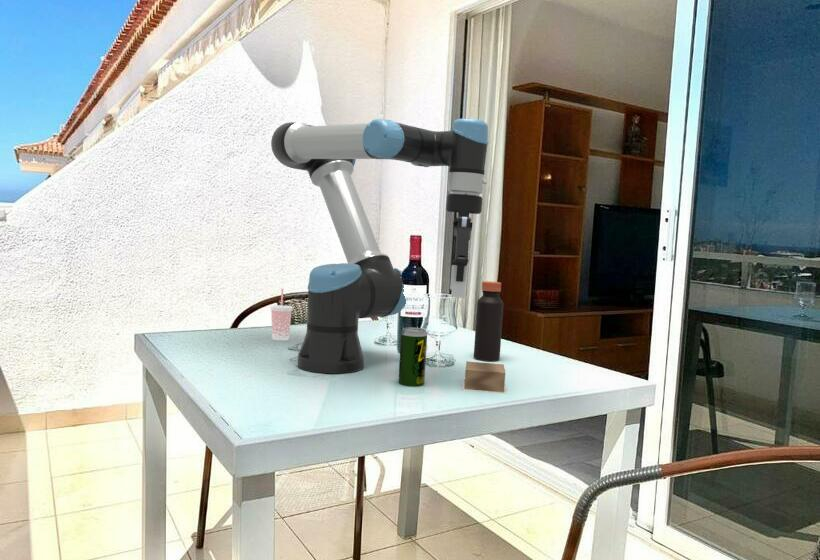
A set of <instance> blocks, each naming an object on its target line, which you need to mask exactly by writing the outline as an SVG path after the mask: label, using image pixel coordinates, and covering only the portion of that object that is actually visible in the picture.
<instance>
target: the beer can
mask: <svg viewBox="0 0 820 560" xmlns="http://www.w3.org/2000/svg"><path fill="white" fill-rule="evenodd" d="M427 344H428V334H427V329H425V328H423V327H415V326H414V327H413V326H412V327H411V326H410V327H403V328H402V331H401V334H400V344H399V345H400V346H399V347H400V348H399V363H398V366H399V367H398V380H397V381H398V385H400V386H403V387H410V388H415V387H416V388H417V387H423V386H424V384H425V376H426V362H427V361H426V359H427Z"/></svg>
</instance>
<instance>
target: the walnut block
mask: <svg viewBox="0 0 820 560" xmlns="http://www.w3.org/2000/svg"><path fill="white" fill-rule="evenodd" d="M464 379H465V386H464V389H470V390H469V391H472V390H482V391H481V392H483V391H494V392H493V393H495V392H504V385H505V386H506V383H505V382H506V381H505V380H506V369H505V364H504V363H493V362H492V363H490V362H481V361H466V363H465V374H464Z"/></svg>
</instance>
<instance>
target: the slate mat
mask: <svg viewBox="0 0 820 560" xmlns="http://www.w3.org/2000/svg"><path fill="white" fill-rule="evenodd" d="M461 385H462V386H461V390H462V391H472V392H473V391H474V392H484V393H486V392H487V393H496V394H497V393H498V394H507V388H506V384H505V385H504V392H494V391H482V390H470V389H464V386H465V378H462V384H461Z"/></svg>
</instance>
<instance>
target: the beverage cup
mask: <svg viewBox="0 0 820 560" xmlns="http://www.w3.org/2000/svg"><path fill="white" fill-rule="evenodd" d="M280 292H281V293H280V304H279V305H278V304H275V305H270V311H271V312H270V313H271V339H272V340H275V341H287V340H289V338H290V329H291V320H292V311H293V310H294V309H293V307H294V306H291V305H283V304H284V288H281V291H280Z"/></svg>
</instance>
